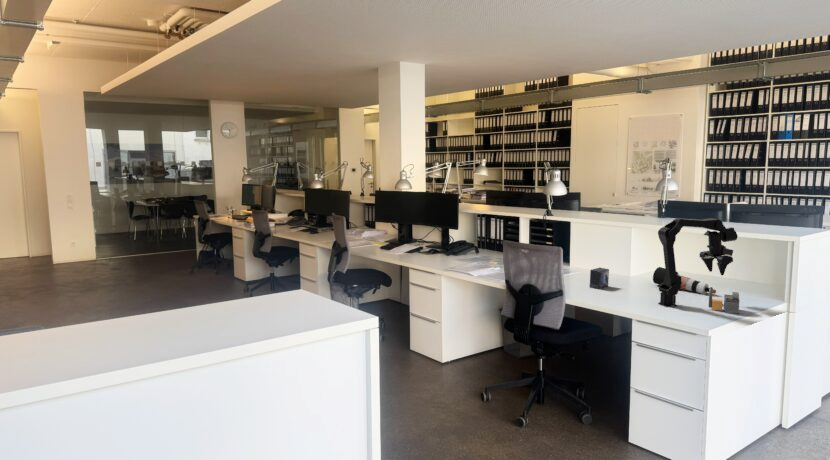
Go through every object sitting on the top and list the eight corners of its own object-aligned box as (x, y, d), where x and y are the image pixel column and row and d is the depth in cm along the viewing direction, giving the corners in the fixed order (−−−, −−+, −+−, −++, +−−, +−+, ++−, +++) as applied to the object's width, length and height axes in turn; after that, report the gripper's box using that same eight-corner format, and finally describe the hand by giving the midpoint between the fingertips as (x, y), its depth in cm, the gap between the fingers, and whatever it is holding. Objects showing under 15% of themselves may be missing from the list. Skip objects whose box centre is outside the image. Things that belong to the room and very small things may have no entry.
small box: (599, 289, 320) (599, 271, 318) (589, 287, 324) (589, 269, 323) (609, 286, 326) (609, 268, 325) (598, 284, 331) (599, 267, 330)
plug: (708, 309, 274) (709, 287, 273) (708, 307, 278) (709, 286, 277) (723, 310, 271) (724, 289, 270) (722, 308, 275) (724, 287, 274)
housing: (724, 312, 269) (726, 294, 268) (723, 307, 278) (724, 290, 277) (738, 314, 266) (739, 295, 265) (736, 309, 275) (738, 291, 274)
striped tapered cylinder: (711, 304, 302) (709, 289, 297) (654, 286, 328) (651, 273, 324) (720, 293, 306) (719, 279, 301) (663, 277, 333) (661, 263, 328)
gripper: (742, 243, 274) (743, 274, 276) (718, 238, 293) (719, 267, 295) (721, 246, 273) (722, 278, 275) (698, 241, 292) (699, 270, 294)
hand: (716, 273), depth 285 cm, fingers open, 9 cm apart
